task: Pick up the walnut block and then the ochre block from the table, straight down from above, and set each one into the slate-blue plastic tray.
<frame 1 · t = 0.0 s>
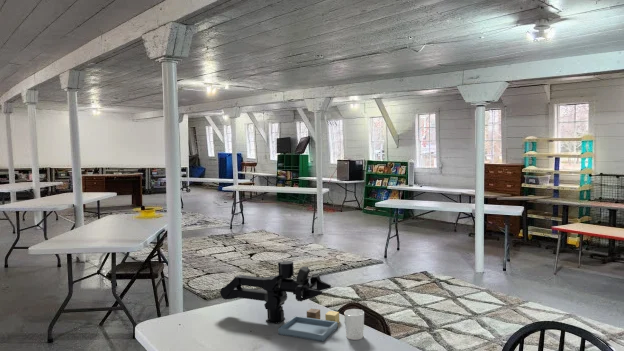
hand: (326, 289, 196), 17 cm above the table, tool horizontal, fingers open, 9 cm apart
white cup: (354, 337, 187), on the table
walnut block: (313, 320, 206), on the table
ochre block: (332, 323, 202), on the table
slate tray: (308, 330, 194), on the table
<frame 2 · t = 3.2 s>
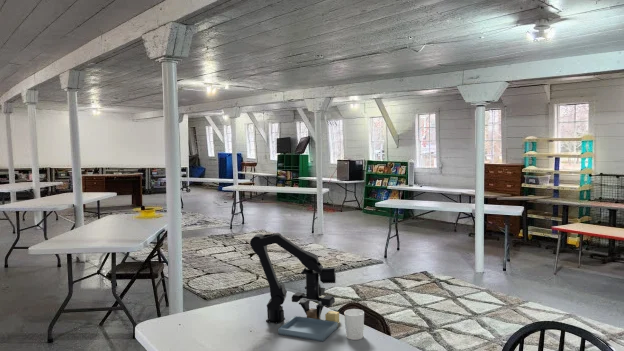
hand: (313, 318, 206), 1 cm above the table, tool pointing down, fingers closed on walnut block, 4 cm apart
walnut block: (313, 320, 206), on the table, touching gripper
everything else where it was.
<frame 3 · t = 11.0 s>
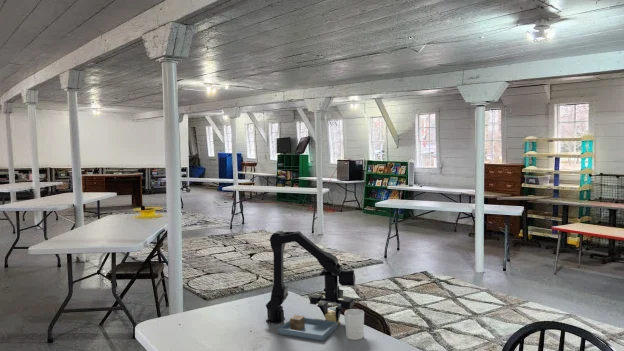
hand: (332, 320, 202), 1 cm above the table, tool pointing down, fingers closed on ochre block, 4 cm apart
walnut block: (297, 327, 197), point 1 cm above the table, touching slate tray
ochre block: (332, 323, 202), on the table, touching gripper
everything else where it was.
when the fingers open (3 cm above the table, at t = 14.9 s): ochre block drops 2 cm, resting on slate tray.
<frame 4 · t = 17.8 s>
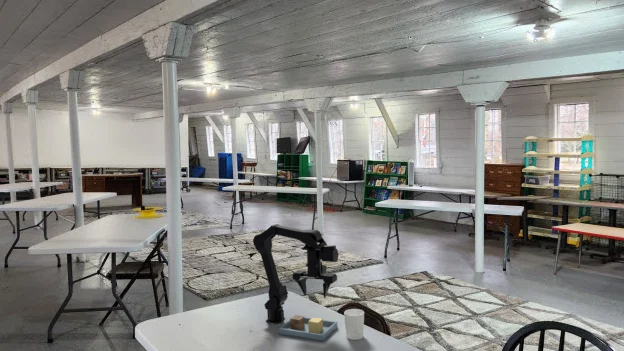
hand: (315, 296, 198), 13 cm above the table, tool pointing down, fingers open, 9 cm apart
ochre block: (315, 330, 193), point 1 cm above the table, touching slate tray
everything else where it was.
at the end: walnut block inside the target area on the slate tray (5.0 cm from its centre), point 0.6 cm above the slate tray's base; ochre block inside the target area on the slate tray (3.5 cm from its centre), point 0.6 cm above the slate tray's base; white cup moved 0.2 cm from its start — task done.
